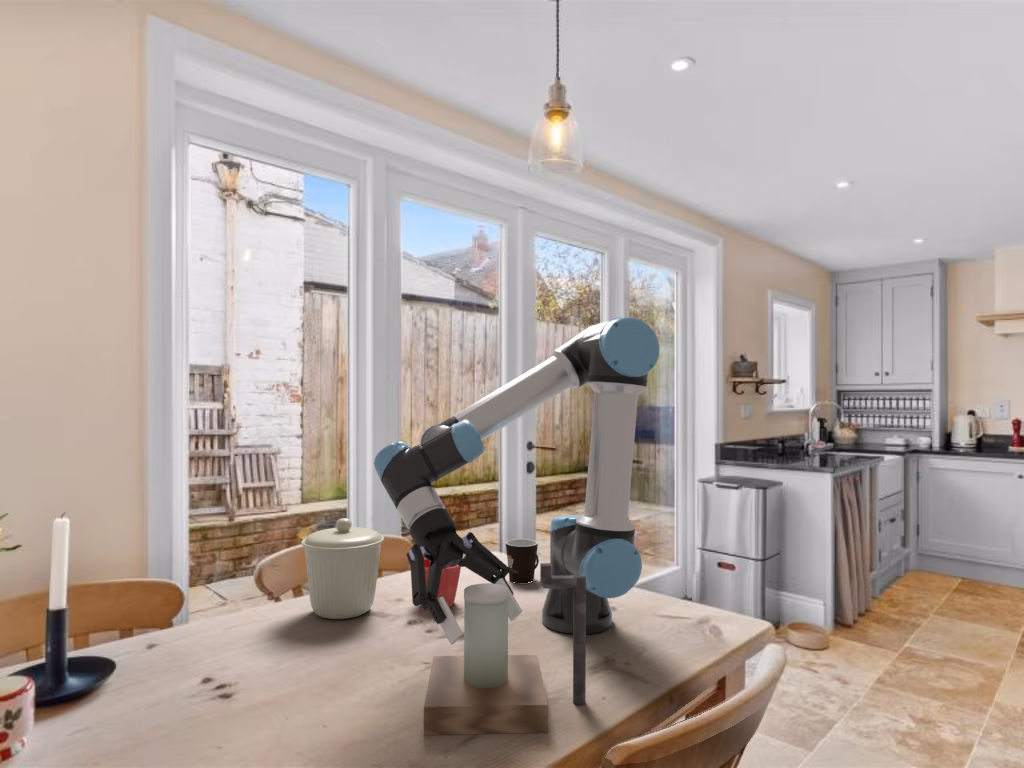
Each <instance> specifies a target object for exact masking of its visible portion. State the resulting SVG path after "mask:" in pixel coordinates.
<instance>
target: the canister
mask: <svg viewBox="0 0 1024 768" xmlns="http://www.w3.org/2000/svg"><path fill="white" fill-rule="evenodd" d="M352 525H353V523H352V521H351V520H350V519H349V518H348V517H347V518H346V517H341V518H339V519H338V520H337V521H336V522H335V527H332V528H326V529H321V530H317V531H314V532H312V533H310V534H309V535H308V536H306V537H305V538H303V539H302V540H301V542H300V543H301V545H302V547H304V553H305V554H304V556H305V566H306V576H307V583H308V584H307V585H308V591H309V592H308V593H309V601H310V606H311V608H312V611H313V612H314V613H315V615H317V616H318V617H319V618H324V619H330V620H344V619H351V618H356V617H358V616H359V617H360V616H362V615H364V614H365V613H367V612H368V611H369V610H370V609H371V608H372V606H373V604H374V600H375V597H376V596H375V595H376V588H377V581H378V574H379V565H380V557H381V556H380V555H381V550H382V549H381V548H382V543H383V542H384V541H385V536H384V535H383V534H381V533H379V532H378V531H376V530H374V529H371V528H367V527H358V526H352Z"/></svg>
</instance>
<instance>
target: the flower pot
mask: <svg viewBox="0 0 1024 768" xmlns="http://www.w3.org/2000/svg"><path fill="white" fill-rule="evenodd" d="M429 564H430V561H429V560H428V559H426V558H424V565H425V578H426V586H427V581H428V575H429V572H428V569H429ZM461 568H462V567H460V566H459V565H457V566H453V567H452V566H449V567H448V568H446V569H442V573H441V579H440V585H439V591H438V597H437V600H438V599H439V598H440V597H444V599H445V601H446V603H447V605H448V607H449V608H450V607H452V606H453V605H454V604H455V600H456V595H457V592H458V591H457V590H458V586H459V580H460V575H461Z"/></svg>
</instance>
